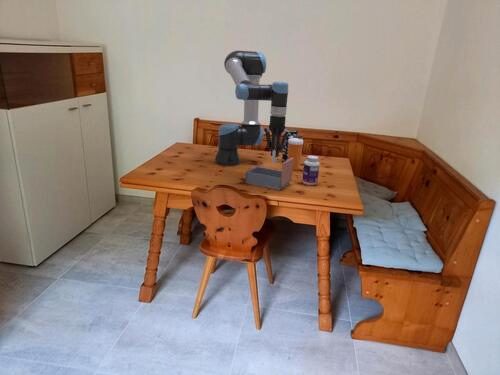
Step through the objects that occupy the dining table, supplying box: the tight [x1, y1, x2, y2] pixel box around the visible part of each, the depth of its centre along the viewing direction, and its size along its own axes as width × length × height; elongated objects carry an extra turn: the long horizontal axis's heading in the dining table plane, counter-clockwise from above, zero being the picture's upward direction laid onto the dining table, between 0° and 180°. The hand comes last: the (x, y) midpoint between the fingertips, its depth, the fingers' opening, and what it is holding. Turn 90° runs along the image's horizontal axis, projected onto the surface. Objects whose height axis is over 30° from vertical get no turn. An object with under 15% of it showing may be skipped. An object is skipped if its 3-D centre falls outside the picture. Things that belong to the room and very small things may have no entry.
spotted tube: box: [281, 129, 299, 163], centre depth 220 cm, size 8×8×20 cm
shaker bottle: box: [288, 135, 304, 171], centre depth 206 cm, size 9×9×20 cm
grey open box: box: [245, 165, 290, 191], centre depth 180 cm, size 19×13×6 cm
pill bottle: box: [301, 155, 321, 186], centre depth 182 cm, size 8×8×14 cm
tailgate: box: [280, 158, 294, 189], centre depth 174 cm, size 1×14×12 cm, turn 153°
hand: (274, 162), depth 175 cm, fingers closed
